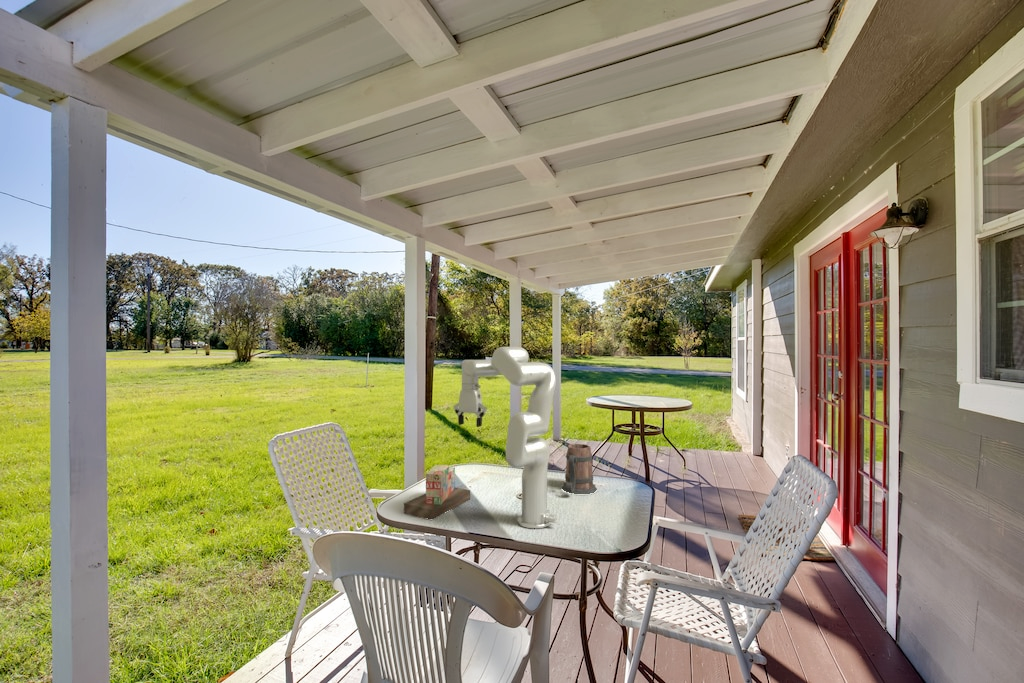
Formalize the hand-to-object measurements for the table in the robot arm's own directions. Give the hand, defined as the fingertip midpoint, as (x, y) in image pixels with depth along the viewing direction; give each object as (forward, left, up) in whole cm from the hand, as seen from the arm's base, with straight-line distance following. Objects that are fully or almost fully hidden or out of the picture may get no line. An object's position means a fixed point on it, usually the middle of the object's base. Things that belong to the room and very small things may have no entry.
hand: (469, 425), depth 206 cm
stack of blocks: (+2, +19, -26) cm, 32 cm away
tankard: (-41, -26, -31) cm, 57 cm away
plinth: (+2, +20, -30) cm, 36 cm away
